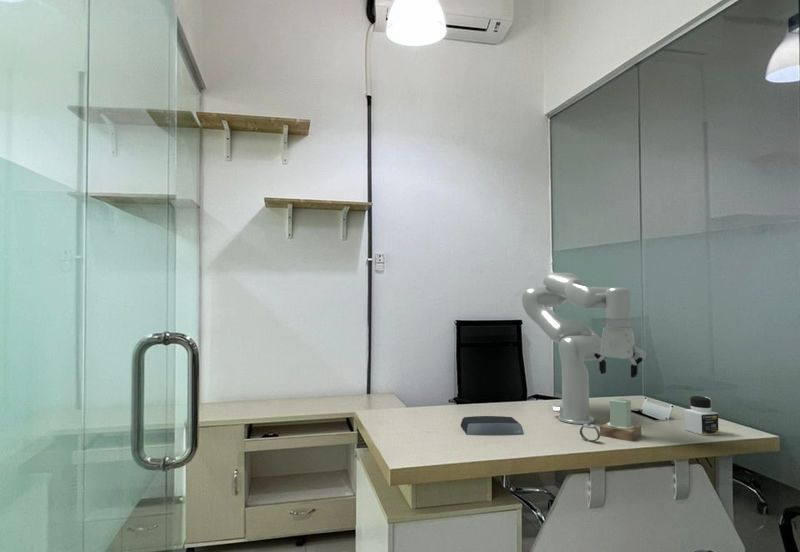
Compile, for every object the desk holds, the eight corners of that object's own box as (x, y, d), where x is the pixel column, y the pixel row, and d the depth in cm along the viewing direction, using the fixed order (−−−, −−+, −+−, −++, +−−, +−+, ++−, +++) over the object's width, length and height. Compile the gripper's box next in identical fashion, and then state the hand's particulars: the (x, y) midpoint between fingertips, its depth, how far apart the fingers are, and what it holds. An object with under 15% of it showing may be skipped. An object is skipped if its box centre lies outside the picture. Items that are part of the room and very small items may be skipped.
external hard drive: (525, 436, 157) (524, 424, 157) (466, 437, 156) (466, 424, 156) (513, 426, 170) (513, 415, 170) (460, 426, 169) (460, 415, 169)
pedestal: (600, 435, 157) (599, 425, 158) (610, 429, 165) (610, 419, 165) (632, 441, 151) (632, 430, 151) (641, 435, 158) (641, 424, 158)
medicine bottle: (702, 435, 158) (701, 399, 159) (684, 430, 165) (683, 395, 166) (719, 434, 160) (718, 398, 161) (700, 428, 167) (699, 394, 168)
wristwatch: (601, 442, 149) (601, 426, 150) (597, 444, 147) (597, 427, 148) (582, 438, 154) (582, 422, 154) (578, 439, 152) (578, 424, 152)
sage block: (610, 424, 158) (609, 400, 158) (615, 422, 162) (615, 398, 162) (626, 427, 154) (625, 402, 155) (631, 424, 158) (630, 400, 159)
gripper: (588, 323, 163) (587, 373, 163) (642, 326, 152) (642, 379, 151) (596, 322, 169) (595, 370, 168) (649, 325, 157) (649, 377, 157)
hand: (618, 375), depth 160 cm, fingers open, 9 cm apart
